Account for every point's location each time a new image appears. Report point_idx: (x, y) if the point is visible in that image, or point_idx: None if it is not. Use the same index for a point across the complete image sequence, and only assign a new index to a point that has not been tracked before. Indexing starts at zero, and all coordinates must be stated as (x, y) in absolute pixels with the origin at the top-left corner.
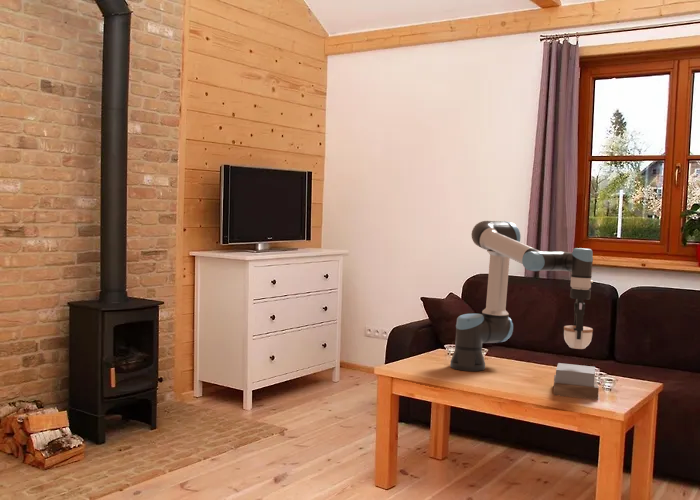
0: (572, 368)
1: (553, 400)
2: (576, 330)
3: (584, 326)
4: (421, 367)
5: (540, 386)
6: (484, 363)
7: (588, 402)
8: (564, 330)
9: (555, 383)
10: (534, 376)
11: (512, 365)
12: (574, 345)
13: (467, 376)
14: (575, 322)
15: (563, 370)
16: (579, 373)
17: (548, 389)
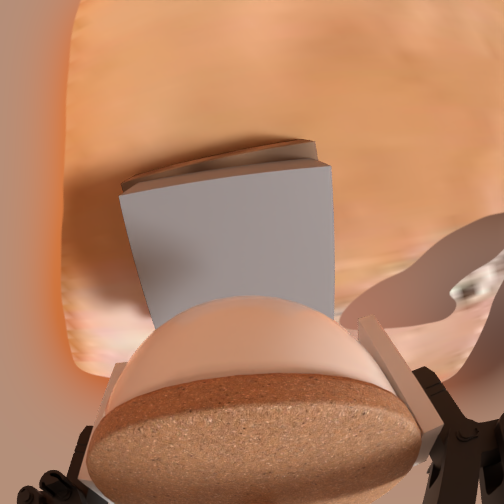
0: (218, 263)
1: (64, 196)
2: (64, 484)
3: (375, 497)
4: None
5: (256, 92)
6: None
7: (120, 297)
8: (166, 380)
9: (124, 187)
10: (417, 58)
11: (500, 9)
12: (112, 374)
13: None
14: (441, 474)
15: (129, 234)
16: (149, 304)
17: (220, 132)
